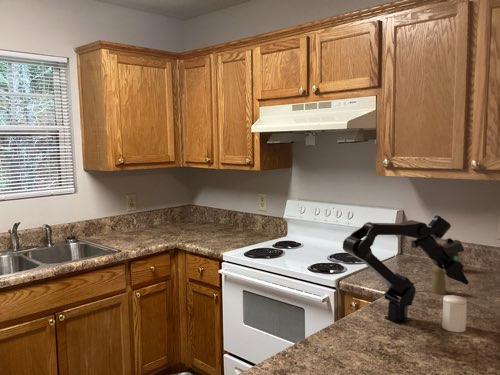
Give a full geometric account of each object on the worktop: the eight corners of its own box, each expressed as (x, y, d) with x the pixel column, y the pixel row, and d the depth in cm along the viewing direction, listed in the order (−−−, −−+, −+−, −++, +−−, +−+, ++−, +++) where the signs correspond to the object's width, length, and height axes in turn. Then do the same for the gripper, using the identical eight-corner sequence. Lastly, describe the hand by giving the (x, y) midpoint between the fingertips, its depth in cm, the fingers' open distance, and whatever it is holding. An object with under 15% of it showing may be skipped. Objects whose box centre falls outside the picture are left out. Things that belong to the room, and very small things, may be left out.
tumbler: (465, 333, 145) (467, 303, 144) (442, 329, 148) (443, 300, 147) (464, 325, 152) (466, 296, 151) (442, 322, 154) (443, 294, 153)
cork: (433, 288, 190) (434, 263, 189) (448, 291, 186) (449, 265, 185) (428, 292, 185) (429, 266, 184) (443, 295, 181) (445, 269, 180)
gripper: (458, 238, 148) (491, 272, 147) (441, 227, 166) (471, 257, 166) (432, 261, 149) (465, 294, 149) (418, 248, 168) (448, 277, 167)
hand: (463, 279), depth 158 cm, fingers open, 9 cm apart
